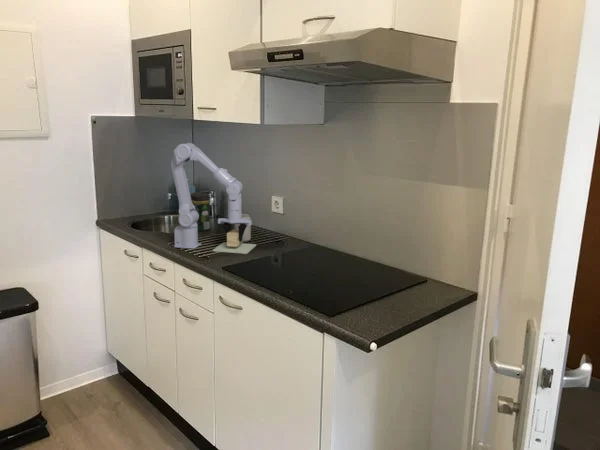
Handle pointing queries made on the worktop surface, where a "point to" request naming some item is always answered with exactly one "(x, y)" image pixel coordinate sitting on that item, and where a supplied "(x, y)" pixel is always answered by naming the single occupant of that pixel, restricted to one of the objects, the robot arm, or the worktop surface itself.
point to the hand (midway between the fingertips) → (234, 240)
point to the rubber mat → (235, 248)
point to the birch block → (233, 238)
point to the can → (247, 231)
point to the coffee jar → (201, 209)
